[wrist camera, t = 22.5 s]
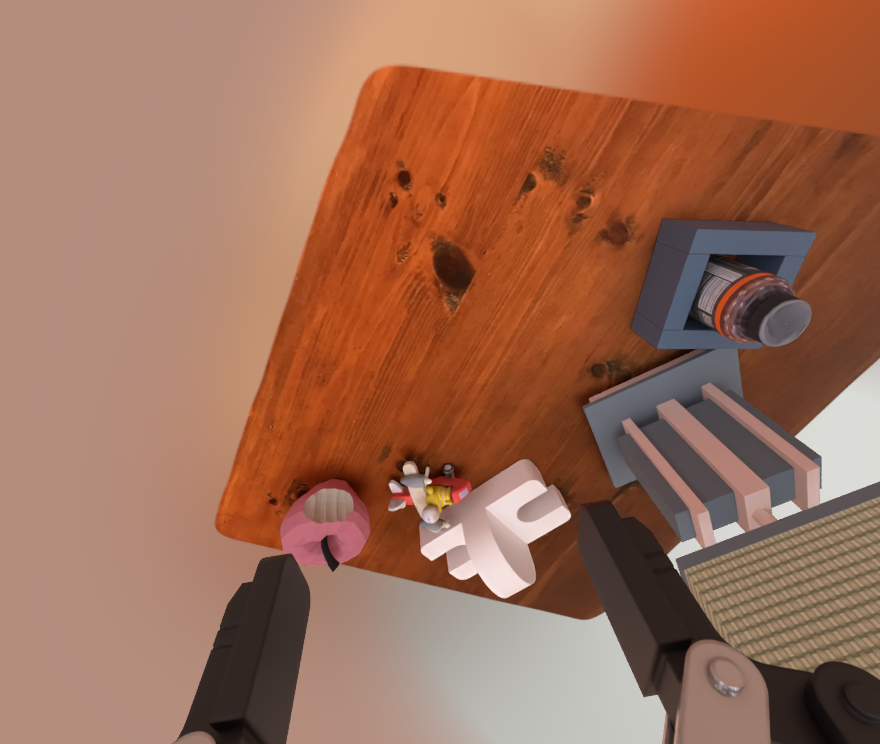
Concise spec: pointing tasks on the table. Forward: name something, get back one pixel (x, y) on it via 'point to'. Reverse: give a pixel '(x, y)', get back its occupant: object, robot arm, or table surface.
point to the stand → (684, 264)
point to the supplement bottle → (748, 304)
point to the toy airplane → (428, 494)
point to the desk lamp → (748, 514)
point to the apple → (326, 525)
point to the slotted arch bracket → (498, 528)
